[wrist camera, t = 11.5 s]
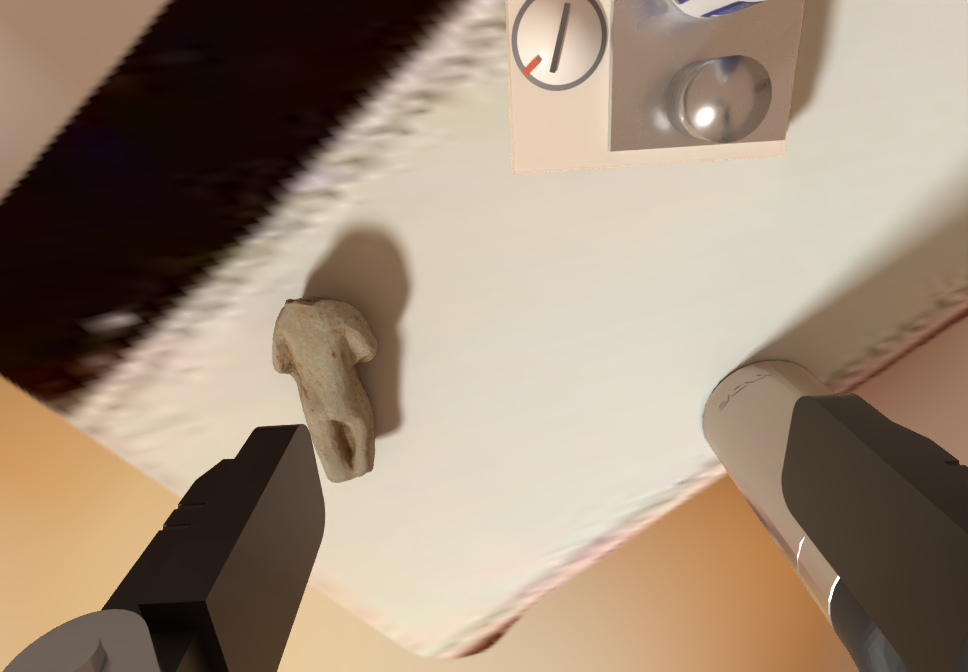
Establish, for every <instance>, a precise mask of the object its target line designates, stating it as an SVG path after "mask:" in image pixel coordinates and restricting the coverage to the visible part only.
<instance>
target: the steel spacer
mask: <svg viewBox="0 0 968 672" xmlns="http://www.w3.org/2000/svg"><path fill="white" fill-rule="evenodd" d="M771 99H772V84H771V80H770V77H769V74H768V73H767V71H766V69H765V68H764V67H763V65H762V64H760V63H759V62H758V61H757V60H755V59H753V58H751V57H748V56H743V55H733V56H725V57H718V58H710V59H703V60H698V61H695V62H692V63H690V64H688V65H687V66H685V67H684V68H683V69H681V70H680V71H679V72H678V73H677V74H676V76H675V77H674V78H673V80H672V82H671V83H670V86H669V88H668V91H667V94H666V101H665V108H666V113H667V117H668V119H669V121H670V123H671V124H672V126H673V127H674V128H675V129H676V130H677V131H678V132H680V133H682V134H684V135H686V136H690V137H695V138H699V139H704V140H708V141H713V142H718V143H730V142H735V141H738V140H740V139H743V138H745V137H746V136H748V135H749V134H751V133H752V132H753V131H754V130H755V129H756V128H757V127H758V126H759V125H760V124H761V123H762V121H763V120H764V118H765V116H766V114H767V112H768V110H769V107H770V104H771Z"/></svg>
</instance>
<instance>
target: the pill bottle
mask: <svg viewBox="0 0 968 672" xmlns="http://www.w3.org/2000/svg"><path fill="white" fill-rule="evenodd" d="M672 1H673V2H674V3H675V5H676V6H677V7H678V8H679V9H681V10H682V11H683V12H685V13H686V14H688V15H690V16H693V17H697V18H703V19H710V18H717V17H721V16H724V15H727V14H730V13H733V12H736V11H739V10H741V9H744V8H747V7H750V6H752V5H755V4H758V3H761V2H763V1H766V0H672Z"/></svg>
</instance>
